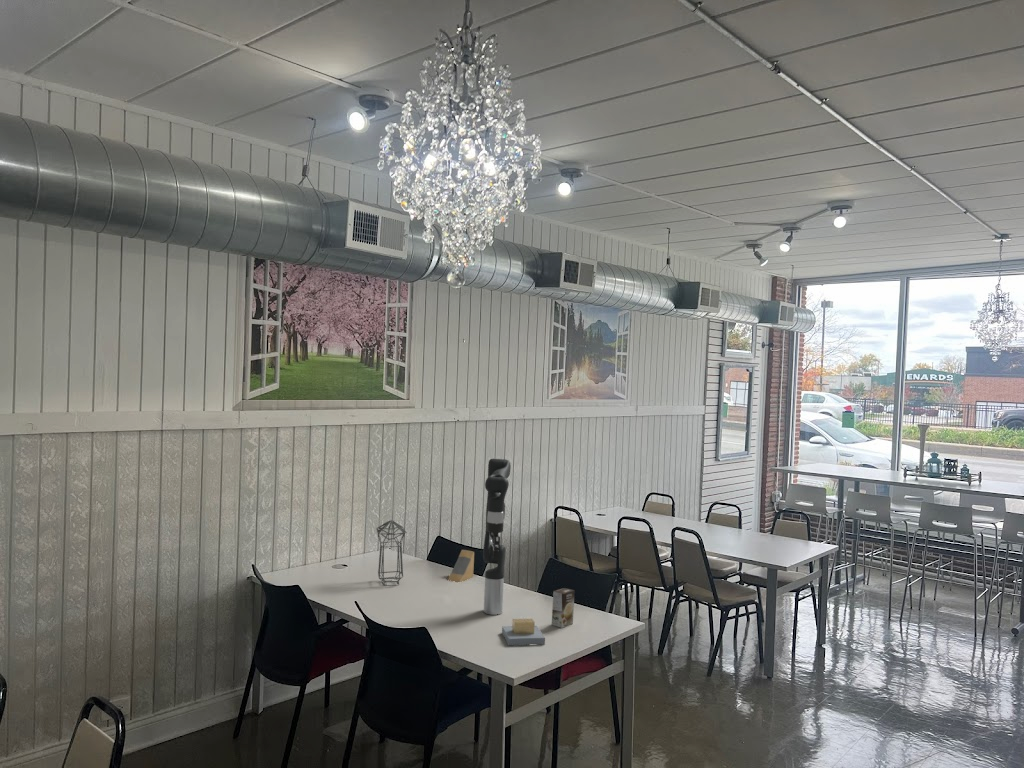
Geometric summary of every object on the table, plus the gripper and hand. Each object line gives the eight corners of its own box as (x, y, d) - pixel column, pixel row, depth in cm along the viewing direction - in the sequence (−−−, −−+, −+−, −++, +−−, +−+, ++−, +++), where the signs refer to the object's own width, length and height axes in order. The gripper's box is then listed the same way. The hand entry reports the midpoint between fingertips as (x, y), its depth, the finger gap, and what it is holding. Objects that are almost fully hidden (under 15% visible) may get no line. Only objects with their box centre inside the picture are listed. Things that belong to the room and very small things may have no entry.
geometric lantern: (405, 587, 401) (407, 522, 401) (376, 588, 397) (377, 523, 397) (402, 578, 417) (404, 517, 416) (374, 580, 413) (375, 517, 412)
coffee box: (562, 628, 345) (563, 593, 345) (551, 624, 349) (552, 590, 349) (573, 623, 352) (574, 590, 352) (562, 620, 356) (563, 587, 356)
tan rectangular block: (512, 630, 330) (512, 619, 330) (531, 629, 332) (532, 618, 332) (514, 634, 325) (514, 622, 325) (534, 633, 327) (534, 622, 327)
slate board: (502, 632, 334) (502, 626, 334) (536, 632, 338) (536, 625, 338) (508, 645, 319) (509, 638, 319) (544, 644, 322) (545, 637, 322)
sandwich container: (446, 580, 418) (447, 554, 418) (460, 574, 432) (461, 549, 432) (459, 583, 414) (461, 556, 414) (473, 577, 428) (474, 551, 428)
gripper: (484, 518, 342) (483, 553, 342) (489, 524, 328) (488, 560, 328) (500, 518, 343) (499, 553, 343) (506, 524, 329) (504, 560, 329)
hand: (493, 556), depth 335 cm, fingers open, 8 cm apart
